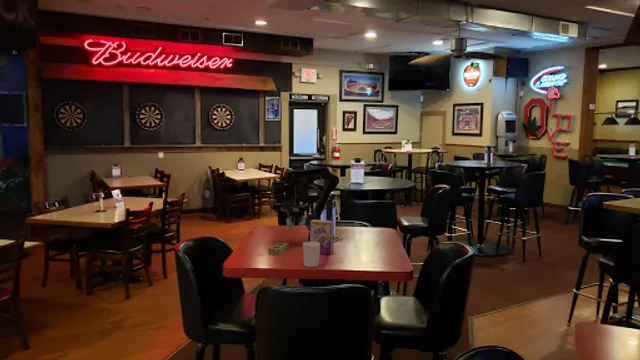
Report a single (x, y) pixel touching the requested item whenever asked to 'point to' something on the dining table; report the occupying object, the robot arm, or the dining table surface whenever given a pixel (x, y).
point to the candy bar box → (322, 235)
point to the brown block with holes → (278, 249)
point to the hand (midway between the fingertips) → (290, 223)
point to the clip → (289, 223)
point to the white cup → (311, 254)
